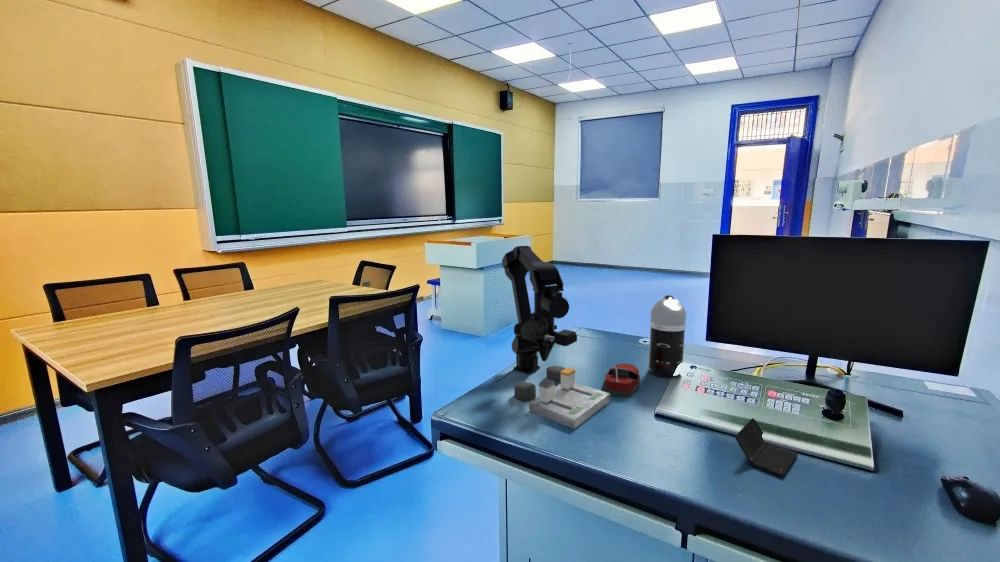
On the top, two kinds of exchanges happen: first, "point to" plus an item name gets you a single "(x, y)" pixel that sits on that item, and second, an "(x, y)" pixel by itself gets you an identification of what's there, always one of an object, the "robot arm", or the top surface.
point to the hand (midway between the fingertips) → (544, 360)
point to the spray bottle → (666, 336)
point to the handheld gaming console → (764, 451)
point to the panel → (571, 405)
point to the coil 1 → (525, 391)
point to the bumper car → (622, 380)
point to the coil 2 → (554, 373)
